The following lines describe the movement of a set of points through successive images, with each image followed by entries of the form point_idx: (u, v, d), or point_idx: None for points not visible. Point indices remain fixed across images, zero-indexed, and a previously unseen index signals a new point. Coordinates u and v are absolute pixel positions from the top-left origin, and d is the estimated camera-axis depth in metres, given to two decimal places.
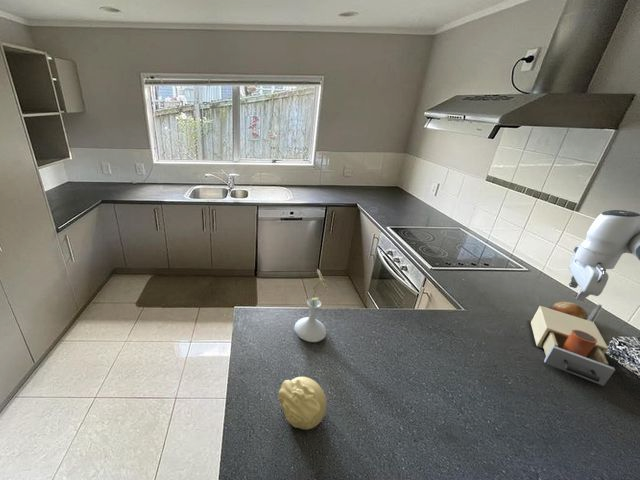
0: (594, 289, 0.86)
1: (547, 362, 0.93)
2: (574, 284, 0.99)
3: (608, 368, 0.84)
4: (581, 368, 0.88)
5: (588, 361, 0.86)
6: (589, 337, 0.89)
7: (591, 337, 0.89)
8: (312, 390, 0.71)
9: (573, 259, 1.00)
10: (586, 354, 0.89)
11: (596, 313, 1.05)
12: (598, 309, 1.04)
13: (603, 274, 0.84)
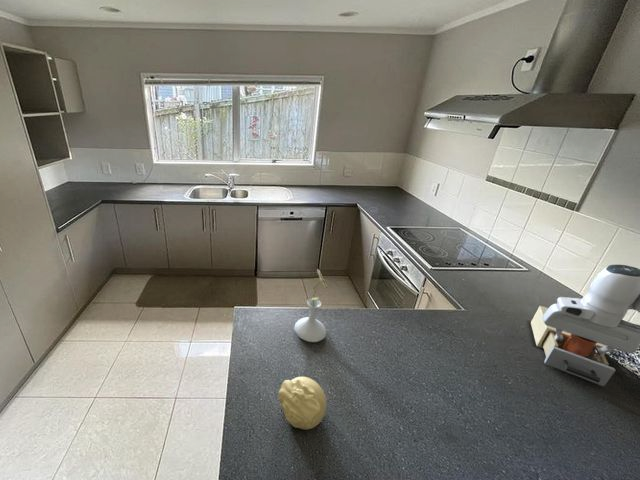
0: None
1: (547, 363, 0.92)
2: None
3: (608, 369, 0.84)
4: (581, 369, 0.88)
5: (588, 362, 0.86)
6: None
7: None
8: (312, 390, 0.71)
9: (556, 317, 0.91)
10: (586, 355, 0.89)
11: None
12: None
13: None
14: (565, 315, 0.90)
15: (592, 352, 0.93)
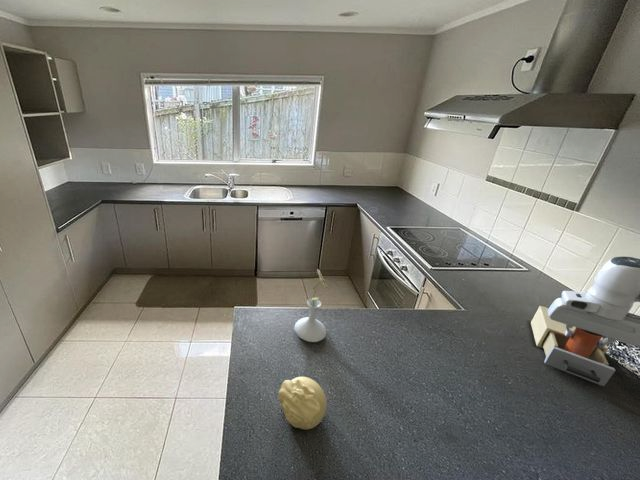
0: None
1: (547, 363, 0.92)
2: None
3: (608, 369, 0.84)
4: (581, 369, 0.88)
5: (588, 362, 0.86)
6: None
7: None
8: (312, 390, 0.71)
9: (561, 311, 0.90)
10: (592, 348, 0.88)
11: None
12: None
13: None
14: (570, 309, 0.89)
15: (592, 352, 0.93)
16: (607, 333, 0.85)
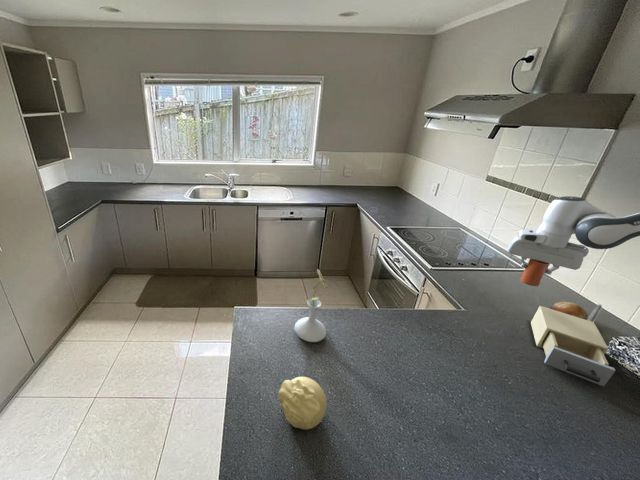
0: None
1: (547, 363, 0.92)
2: None
3: (608, 369, 0.84)
4: (581, 369, 0.88)
5: (588, 362, 0.86)
6: None
7: None
8: (312, 390, 0.71)
9: (517, 245, 1.08)
10: (541, 275, 1.07)
11: (596, 313, 1.05)
12: (598, 309, 1.04)
13: (588, 250, 0.99)
14: (524, 243, 1.07)
15: (592, 352, 0.93)
16: (553, 261, 1.04)
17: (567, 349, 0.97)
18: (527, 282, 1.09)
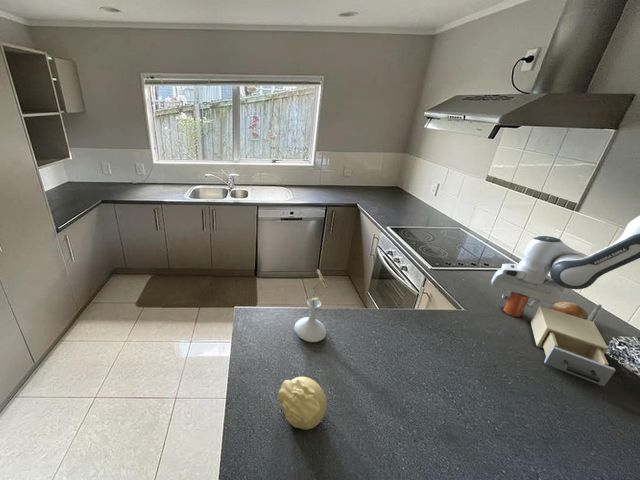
0: None
1: (547, 363, 0.92)
2: None
3: (608, 369, 0.84)
4: (581, 369, 0.88)
5: (588, 362, 0.86)
6: None
7: None
8: (312, 390, 0.71)
9: (499, 279, 1.16)
10: (522, 307, 1.14)
11: (596, 313, 1.05)
12: (598, 309, 1.04)
13: None
14: (506, 277, 1.15)
15: (592, 352, 0.93)
16: (532, 295, 1.11)
17: (567, 349, 0.97)
18: (509, 313, 1.16)
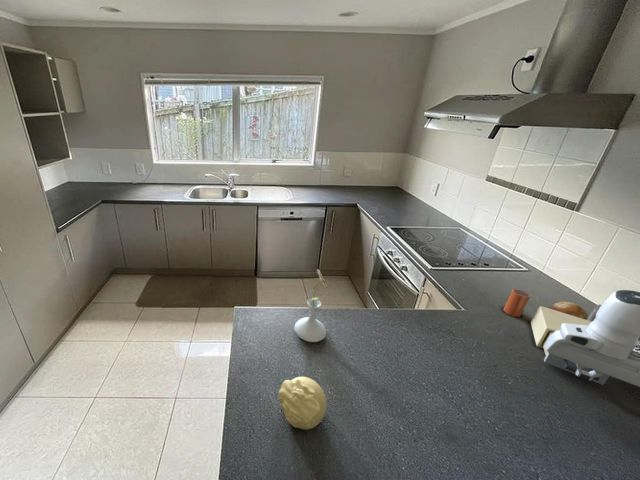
0: None
1: (547, 361, 0.93)
2: None
3: None
4: None
5: None
6: (524, 294, 1.14)
7: (526, 293, 1.14)
8: (312, 390, 0.71)
9: (559, 345, 0.84)
10: (522, 307, 1.14)
11: None
12: (598, 309, 1.04)
13: None
14: (569, 344, 0.83)
15: None
16: (609, 371, 0.79)
17: None
18: (509, 313, 1.16)
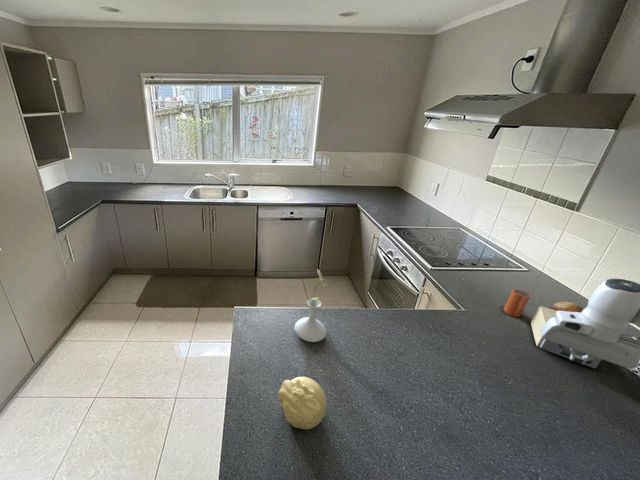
0: None
1: (543, 347, 0.99)
2: None
3: None
4: None
5: None
6: (524, 294, 1.14)
7: (526, 293, 1.14)
8: (312, 390, 0.71)
9: (554, 331, 0.90)
10: (522, 307, 1.14)
11: None
12: None
13: None
14: (564, 330, 0.89)
15: None
16: (600, 355, 0.85)
17: None
18: (509, 313, 1.16)
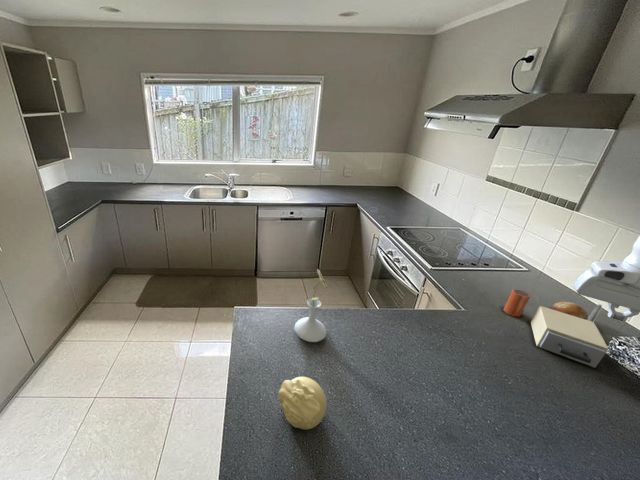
0: None
1: (543, 346, 0.99)
2: None
3: (599, 350, 0.90)
4: (574, 351, 0.94)
5: (581, 344, 0.93)
6: (524, 294, 1.14)
7: (526, 293, 1.14)
8: (312, 390, 0.71)
9: (591, 284, 0.78)
10: (522, 307, 1.14)
11: (596, 313, 1.05)
12: (598, 309, 1.04)
13: None
14: (602, 282, 0.77)
15: None
16: None
17: (562, 335, 1.04)
18: (509, 313, 1.16)
